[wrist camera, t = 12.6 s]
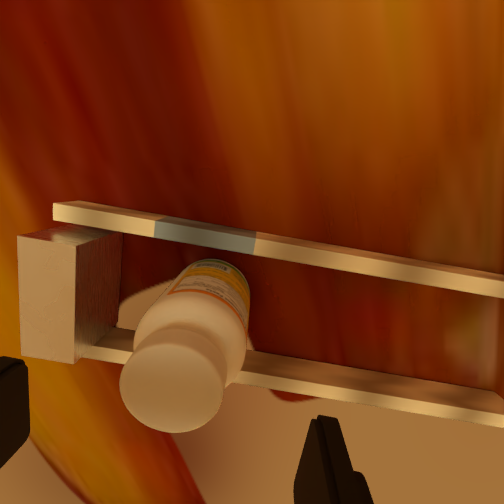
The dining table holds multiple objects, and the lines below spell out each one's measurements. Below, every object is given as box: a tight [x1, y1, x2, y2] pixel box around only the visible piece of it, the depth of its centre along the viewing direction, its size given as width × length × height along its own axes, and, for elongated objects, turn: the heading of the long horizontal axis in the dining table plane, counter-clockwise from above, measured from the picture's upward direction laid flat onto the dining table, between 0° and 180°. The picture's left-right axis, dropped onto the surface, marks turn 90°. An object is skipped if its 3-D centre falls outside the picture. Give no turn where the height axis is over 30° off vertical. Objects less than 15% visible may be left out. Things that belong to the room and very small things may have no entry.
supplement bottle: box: [119, 259, 250, 433], centre depth 15 cm, size 5×5×10 cm
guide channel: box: [17, 201, 504, 428], centre depth 17 cm, size 32×10×5 cm, turn 80°
